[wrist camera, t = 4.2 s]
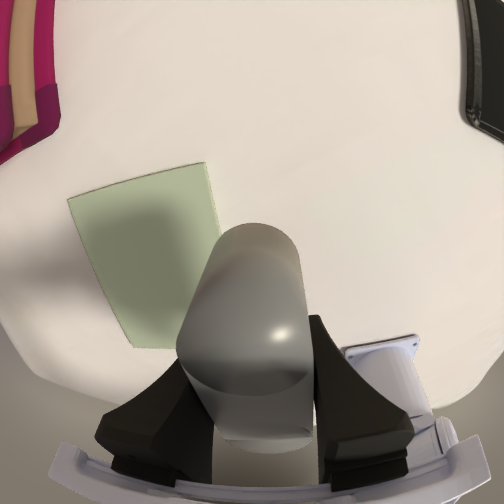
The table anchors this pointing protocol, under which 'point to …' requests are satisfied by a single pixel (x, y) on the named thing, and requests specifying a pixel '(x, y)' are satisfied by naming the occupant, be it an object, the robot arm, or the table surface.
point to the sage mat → (150, 248)
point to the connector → (252, 341)
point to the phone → (485, 65)
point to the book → (26, 75)
